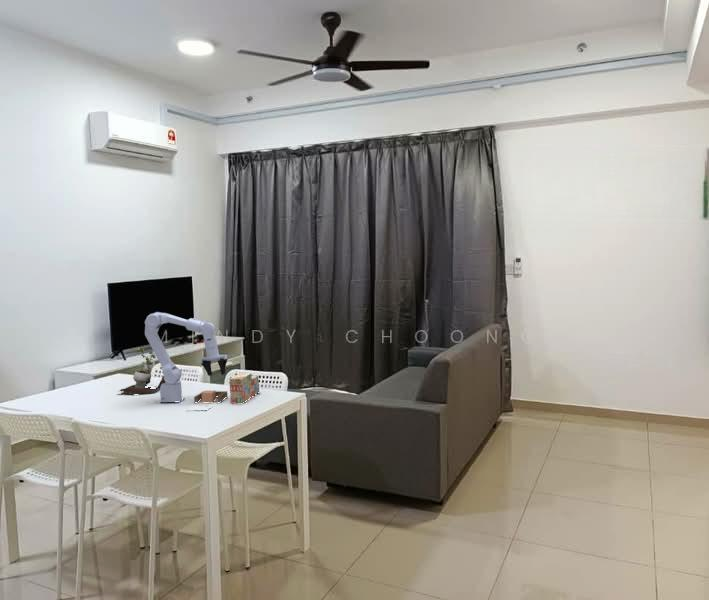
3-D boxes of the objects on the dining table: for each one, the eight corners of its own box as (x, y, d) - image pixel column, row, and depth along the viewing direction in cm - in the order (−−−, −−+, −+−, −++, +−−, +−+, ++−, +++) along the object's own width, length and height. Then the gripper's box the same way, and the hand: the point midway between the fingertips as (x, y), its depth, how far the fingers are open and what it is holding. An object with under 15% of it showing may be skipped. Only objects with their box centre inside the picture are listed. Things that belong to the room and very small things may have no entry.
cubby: (194, 403, 265) (194, 397, 264) (203, 397, 276) (202, 391, 276) (219, 403, 263) (219, 396, 263) (227, 397, 275) (227, 391, 274)
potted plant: (132, 391, 305) (144, 347, 307) (164, 399, 304) (176, 354, 306) (115, 393, 285) (128, 346, 287) (149, 402, 284) (162, 354, 286)
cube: (202, 403, 264) (201, 393, 264) (205, 400, 269) (205, 390, 269) (212, 403, 264) (211, 393, 263) (215, 400, 269) (215, 390, 268)
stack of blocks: (248, 393, 283) (246, 369, 282) (259, 393, 282) (258, 369, 281) (230, 404, 262) (229, 378, 261) (242, 404, 261) (241, 378, 260)
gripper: (228, 344, 270) (233, 371, 271) (203, 347, 275) (208, 373, 276) (220, 347, 264) (226, 375, 265) (195, 350, 269) (200, 377, 270)
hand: (216, 374), depth 270 cm, fingers open, 7 cm apart
